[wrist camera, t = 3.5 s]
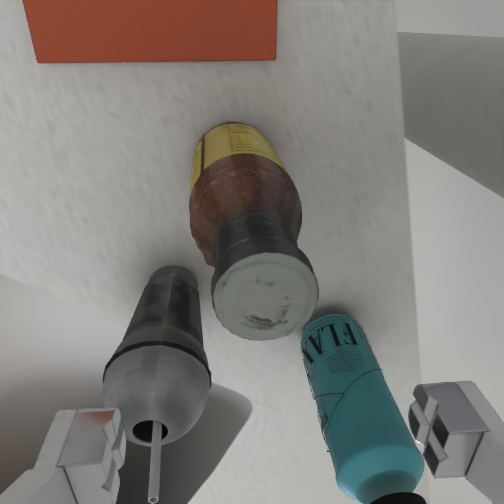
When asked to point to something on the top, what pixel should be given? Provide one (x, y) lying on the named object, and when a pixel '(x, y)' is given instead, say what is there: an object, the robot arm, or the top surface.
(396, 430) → the beverage bottle
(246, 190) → the sauce bottle
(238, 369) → the top surface
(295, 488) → the top surface
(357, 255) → the top surface
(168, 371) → the beverage cup
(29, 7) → the condiment mat
